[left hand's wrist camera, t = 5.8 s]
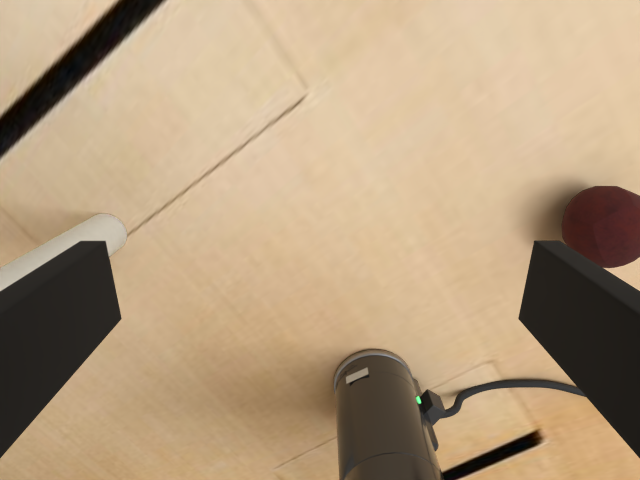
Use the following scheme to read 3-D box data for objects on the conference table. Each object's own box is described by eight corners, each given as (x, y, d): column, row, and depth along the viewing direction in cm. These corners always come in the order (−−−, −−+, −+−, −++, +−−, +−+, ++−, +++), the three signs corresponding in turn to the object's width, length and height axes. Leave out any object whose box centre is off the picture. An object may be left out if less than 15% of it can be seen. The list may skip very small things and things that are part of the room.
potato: (563, 261, 43) (607, 293, 36) (534, 203, 40) (576, 225, 34) (630, 225, 41) (690, 251, 35) (605, 163, 39) (663, 177, 32)
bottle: (120, 256, 43) (-33, 384, 24) (82, 240, 42) (-105, 358, 23) (132, 224, 41) (-20, 332, 23) (93, 206, 41) (-96, 303, 22)
